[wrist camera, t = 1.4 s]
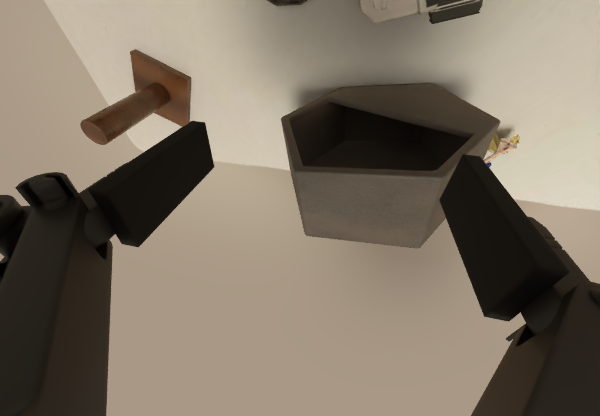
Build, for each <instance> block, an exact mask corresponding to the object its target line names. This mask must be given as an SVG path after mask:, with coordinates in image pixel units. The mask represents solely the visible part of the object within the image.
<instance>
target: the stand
mask: <svg viewBox="0 0 600 416" xmlns="http://www.w3.org/2000/svg"><path fill="white" fill-rule="evenodd" d="M130 54H131V61H132V69H133V76H134V83H135V91H136V92H135V93H133V94H131V95H130V96H128V97H126V98H124V99H122V100H120V101H118V102H117V103H115V104H113V105H111V106H109V107H107V108H105V109H103V110H102V111H100V112H98V113H96V114H94V115H92V116H90V117H89V118H87V119H85V120H83V121H82V122H81V128H82V130H83V132H84V133H85V134H86V135H87V137H88V138H90V139H91V140H92V141H94V142H95V143H98V144H101V145H105V144H107V143H109V142H110V141H112V140H113V139H115V138H116V137H117V136H119V135H121V134H122V133H124V132H125V131H127V130H128V129H130V128H131V127H133V126H134V125H136V124H137V123H139V122H140V121H142V120H143V119H145V118H146V117H148V116H149V115H151V114H152V113H156V114H158V115H160V116H162V117H164V118H166V119H168V120H170V121H172V122H174V123H176V124H178V125H180V126H185V125H186V124H188V123H189V115H190V90H191V78H190V77H188V76H186V75H184V74H182V73H181V72H179V71H177V70H175V69H173V68H171V67H169V66H167V65H165V64H163V63H161V62H159V61H157V60H155V59H153V58H151V57H149V56H147V55H145V54H143V53H141V52H139V51H137V50H133V51H130Z"/></svg>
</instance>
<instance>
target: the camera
mask: <svg viewBox="0 0 600 416" xmlns="http://www.w3.org/2000/svg"><path fill="white" fill-rule="evenodd" d="M360 3H361V11H363V12H364V13H365V14H366V15H367V16H368V17H369V18H370V19H371V20H372V21H373V22H374V23H378V22H383V21H387V20H391V19H395V18H399V17H403V16H407V15H411V14H415V13H420V14H423V13H425V12H428V11H429V17H430V20H429V21H430V22H431V23H432V24H435V23H439V22H443V21H448V20H452V19H456V18H460V17H465V16H469V15H473V14H477V13H480V12H479V10H480V8H481V6H482V3H483V0H360Z"/></svg>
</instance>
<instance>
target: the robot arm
mask: <svg viewBox="0 0 600 416" xmlns="http://www.w3.org/2000/svg"><path fill="white" fill-rule="evenodd" d="M213 168H214V164H213V159H212V154H211V149H210V144H209V140H208V135H207V130H206V125H205V122H196V121H191V122H190V123H188V124H186V125H185V126H183V127H182V128H180V129H179V130H177V131H176V132H174V133H173V134H171V135H170V136H168V137H167V138H165V139H164V140H162V141H161V142H159V143H157V144H156V145H154V146H153V147H151V148H150V149H148V150H147V151H145V152H144V153H142V154H141V155H139V156H138V157H136V158H135V159H133V160H132V161H130V162H128V163H126V164H124V165H122V166H121V167H119V168H117V169H116V170H115V171H114V172H111V173H110V174H108V175H107V177H103V178H102V179H100V180H99V181H97V182H96V183H94V184H93V185H91V186H90V187H88V188H86V189H85V190H83V191H82V192H80V193H78V192H77V190H76V189H75V188H74V186H73V184H72V183H71V181H70V180H69V178H68V177H67V175H65V174H63V173H57V172H54V173H45V174H41V175H37V176H34V177H31V178H29V179H26V180H25V181H23V182H21V183H20V184H19V185H18V186H17V187H16V189H17V190H18V192H19V193H20V194H21V195H22V196H23V197H24V198H25V200H26V201H27V202H28V203H29V204H30V206H21V205H20V204H19V203H18V202H17V201H16V200H15V199H14V197H12V196H9V195H0V253H1V254H2V255H3V256H4V258H3V259H2V261H0V416H106V404H107V378H108V352H109V326H110V301H111V299H110V298H111V274H112V248H113V247H112V243H111V241H110V240H109V239H110V238H111V237H112V236H113V235H114V234H116V235H117V237H118V238H119V240H120V242H121V243H122V244H125V245H130V246H135V247H139V246H140V245H141V244H142V243H143V242H144V241H145V240H146V239H147V238H148V237H149V236H150V234H151V233H152V232H153V231H154V230H155V229H156V228H157V227H158V226H159V225H160V224H161V223H162V222H163V221H164V220H165V218H167V217H168V215H169V214H170V213H171V212H172V211H173V210H174V209H175V208H176V207H177V206H178V205H179V204H180V203H181V202H182V201H183V199H184V198H185V197H186V196H187V195H188V194H189V193H190V192H191V191H192V190H193V189H194V188H195V187H196V186H197V185H198V184H199V182H201V181H202V179H203V178H204V177H205V176H206V175H207V174H208V173H209V172H210V171H211V170H212V169H213ZM439 201H440V204H441V206H442V209H443V211H444V214H445V216H446V219H447V222H448V224H449V227H450V229H451V232H452V234H453V237H454V240H455V242H456V245H457V247H458V250H459V253H460V255H461V258H462V260H463V263H464V265H465V268H466V270H467V273H468V276H469V278H470V281H471V283H472V286H473V289H474V291H475V294H476V296H477V299H478V301H479V304H480V307H481V309H482V312H483V314H484V316H485V317H489V318H494V319H499V320H504V321H510V320H511V319H513V318H514V317H515V316H516V315H517V314H519V313H520V312H521V314H522V316H523V318H524V320H525V321H526V324H525V325H523V326H522V327H521V328H519V329H518V330H516V331H515V332H514V333H512V334H511V335H510V336H508V337H507V338H506V340H508V341H511V340H512V339H513V341H512V343H511V344H510V346H509V348H508V350H507V352H506V354H505V355H504V357H503V359H502V361H501V363H500V364H499V366H498V368H497V370H496V372H495V374H494V375H493V377H492V379H491V380H490V382H489V384H488V386H487V388H486V390H485V391H484V393H483V395H482V397H481V399H480V400H479V402H478V404H477V406H476V408H475V409H474V411H473V413H472V415H471V416H600V284H598V283H594V282H590V281H589V279H588V278H587V277H586V276H585V274H584V273H583V272H582V271H581V270H580V269H579V267H578V266H577V265H576V264H575V263H574V261H573V260H572V259H571V258H570V256H569V255H568V254H567V253H566V251H565V250H562V247H561V245H560V244H559V243H558V242H557V241H555V238H554V237H553V236H552V234H551V233H550V232H549V231H548V230H547V228H546V227H544V226H543V225H542V224H540V223H539V222H537V221H536V220H535V219H534V218H532V217H527V216H526V215H525V213H524V212H523V211H522V210H521V208H520V207H519V206H518V204H517V203H516V202H515V201H514V199H513V198H512V197H511V195H510V194H509V193H508V192H507V190H506V189H505V188H504V186H503V185H502V184H501V183H500V181H499V180H498V179H497V177H496V176H495V175H494V174H493V172H492V171H491V170H490V168H489V167H488V166H487V165H486V163H485V162H484V161H483V159H482V158H481V157H480V156H474V155H466V154H462V156H461V158H460V160H459V162H458V164H457V166H456V168H455V170H454V172H453V174H452V176H451V178H450V180H449V182H448V184H447V186H446V188H445V190H444V192H443V194H442V195H441V197H440V199H439Z"/></svg>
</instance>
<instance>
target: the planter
mask: <svg viewBox="0 0 600 416" xmlns="http://www.w3.org/2000/svg"><path fill="white" fill-rule="evenodd" d="M281 122H282V127H283V132H284V138H285V143H286V149H287V154H288V159H289V165H290V170H291V176H292V180H293V184H294V188H295V193H296V197H297V202H298V206H299V210H300V215H301V219H302V223H303V228H304V232H305V235H307V236H313V237H321V238H330V239H339V240H348V241H357V242H365V243H374V244H383V245H391V246H400V247H409V248H420V247H421V246H422V245H423V244H424V243H425V241H426V240H427V239H428V238H429V237H430V236H431V235H432V233H433V232H434V231H435V230H436V229H437V228H438V226H439V225H440V224H441V223H442V222H443V221H444V219H445V218H446V216H445V214H444V211H443V209H442V206H441V204H440V201H439V199H440V197H441V195H442V194H443V192H444V190H445V188H446V186H447V184H448V182H449V180H450V178H451V176H452V174H453V172H454V170H455V168H456V166H457V164H458V162H459V160H460V158H461V156H462V154H466V155H474V156H480V157H481V158H482V159H484V157H485V155H486V152H487V150H488V148H489V146H490V144H491V141H492V139H493V137H494V135H495V133H496V131H497V128H498V126H499V124H500V120H498V119H497V118H495V117H493V116H491V115H489V114H488V113H486V112H484V111H482V110H480V109H478V108H477V107H475V106H473V105H471V104H469V103H468V102H466V101H464V100H462V99H460V98H458V97H457V96H455V95H453V94H451V93H449V92H447V91H446V90H444V89H442V88H440V87H438V86H436V85H434V84H408V85H386V86H365V87H343V88H340V89H338V90H336V91H334V92H332V93H330V94H328V95H326V96H324V97H322V98H320V99H318V100H316V101H314V102H312V103H310V104H308V105H306V106H304V107H302V108H300V109H298V110H296V111H294V112H291V113H289V114H287V115H285V116H283V117H282V118H281Z"/></svg>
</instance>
